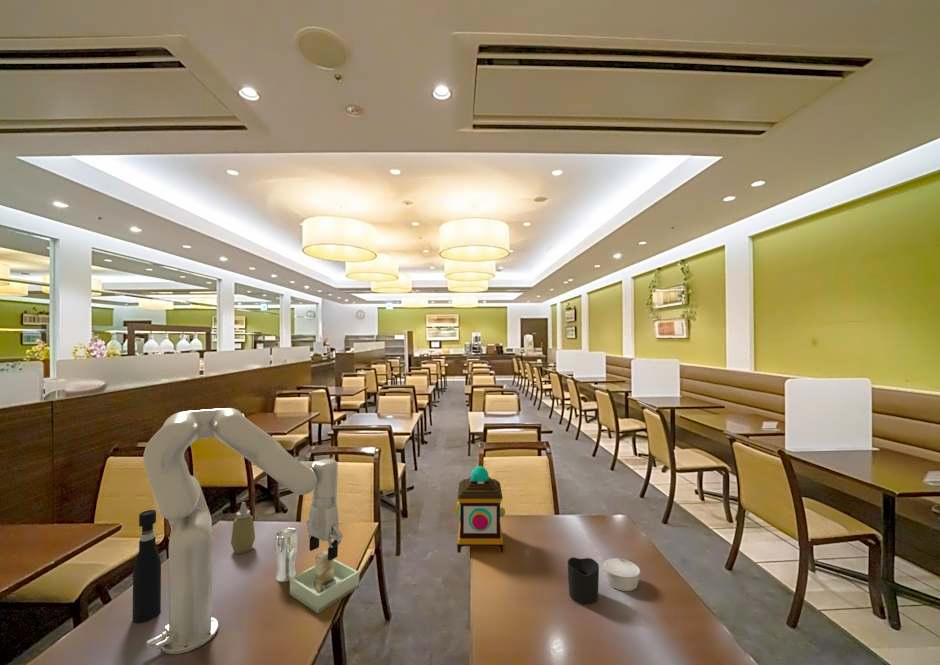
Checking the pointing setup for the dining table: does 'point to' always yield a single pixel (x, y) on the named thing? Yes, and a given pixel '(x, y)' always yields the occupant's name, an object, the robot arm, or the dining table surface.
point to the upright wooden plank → (323, 570)
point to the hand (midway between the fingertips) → (323, 553)
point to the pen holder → (583, 580)
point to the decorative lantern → (479, 511)
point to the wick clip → (326, 584)
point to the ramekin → (621, 574)
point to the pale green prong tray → (318, 601)
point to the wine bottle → (147, 572)
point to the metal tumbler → (286, 553)
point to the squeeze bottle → (243, 531)
